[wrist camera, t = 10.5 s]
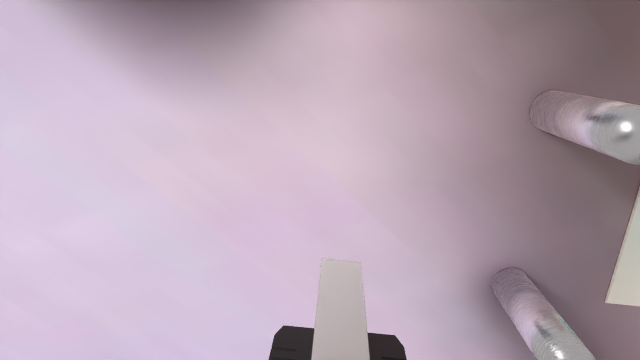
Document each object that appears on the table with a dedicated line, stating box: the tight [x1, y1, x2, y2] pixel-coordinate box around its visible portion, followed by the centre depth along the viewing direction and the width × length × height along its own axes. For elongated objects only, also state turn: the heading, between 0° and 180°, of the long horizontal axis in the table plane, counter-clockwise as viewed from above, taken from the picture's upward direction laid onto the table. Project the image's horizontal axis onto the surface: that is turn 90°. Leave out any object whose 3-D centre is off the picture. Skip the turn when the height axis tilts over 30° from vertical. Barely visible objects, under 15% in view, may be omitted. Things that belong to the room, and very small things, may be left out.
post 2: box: [492, 268, 597, 360], centre depth 27 cm, size 3×3×9 cm
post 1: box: [529, 90, 640, 165], centre depth 23 cm, size 3×3×9 cm
